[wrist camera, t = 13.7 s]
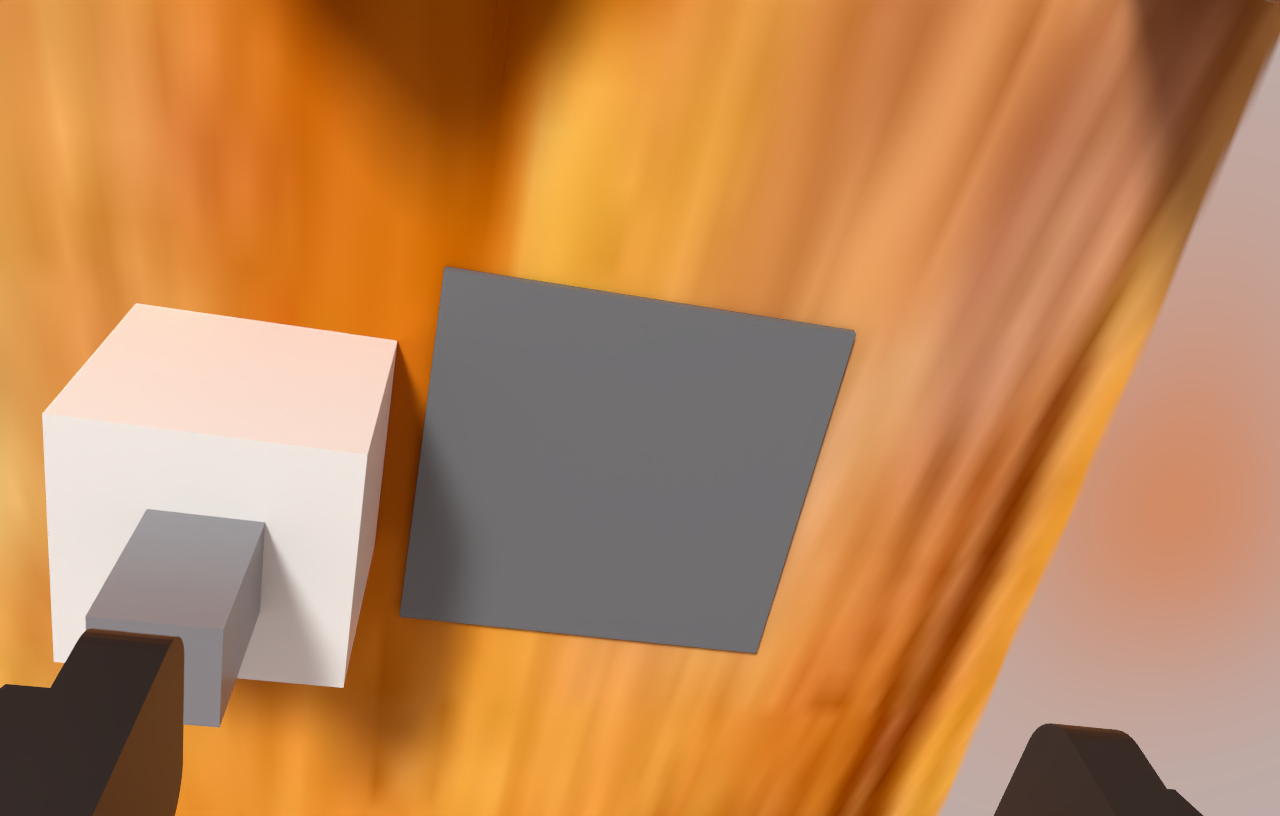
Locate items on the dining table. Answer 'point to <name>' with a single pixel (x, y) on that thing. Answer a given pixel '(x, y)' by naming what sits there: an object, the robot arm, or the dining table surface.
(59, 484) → the cover
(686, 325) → the mat
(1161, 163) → the dining table surface
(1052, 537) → the dining table surface
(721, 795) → the dining table surface
